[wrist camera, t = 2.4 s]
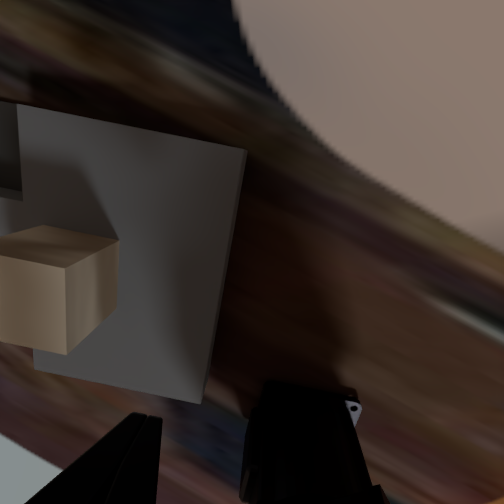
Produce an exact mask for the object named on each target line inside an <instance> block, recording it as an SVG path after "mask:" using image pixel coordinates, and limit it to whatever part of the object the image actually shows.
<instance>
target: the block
mask: <svg viewBox="0 0 504 504" xmlns="http://www.w3.org/2000/svg"><path fill="white" fill-rule="evenodd" d="M119 241H120V240H115V239H110V238H105V237H100V236H96V235H91V234H86V233H81V232H76V231H71V230H66V229H61V228H56V227H52V226H47V225H41V226H37V227H34V228H30V229H26V230H23V231H19V232H16V233H12V234H8V235H5V236H1V237H0V341H1V342H6V343H10V344H15V345H20V346H25V347H30V348H34V349H39V350H44V351H49V352H54V353H58V354H63V355H67V354H69V353H70V352H71V351H72V350H73V349H74V348H75V347H76V346H77V345H78V344H79V343H80V342H81V341H82V340H83V339H84V338H86V337H87V336H88V335H89V334H90V333H91V332H92V331H93V330H94V329H95V328H96V327H97V326H98V325H99V324H100V323H102V322H103V321H104V320H105V319H106V318H107V317H108V316H109V315H110V314H111V313H112V312H113V311H114V310H115V309H116V308H117V287H118V264H119Z"/></svg>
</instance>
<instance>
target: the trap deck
mask: <svg viewBox="0 0 504 504" xmlns="http://www.w3.org/2000/svg"><path fill="white" fill-rule="evenodd" d="M247 153H248V151H247V150H245V149H241V148H236V147H231V146H226V145H221V144H216V143H211V142H206V141H201V140H196V139H191V138H186V137H181V136H176V135H171V134H166V133H161V132H156V131H151V130H146V129H141V128H136V127H131V126H126V125H121V124H116V123H111V122H106V121H101V120H96V119H91V118H86V117H81V116H76V115H71V114H66V113H61V112H56V111H51V110H46V109H41V108H36V107H31V106H26V105H21V104H13V103H8V102H3V101H0V237H1V236H5V235H8V234H12V233H16V232H19V231H23V230H26V229H30V228H34V227H37V226H41V225H47V226H52V227H56V228H61V229H66V230H71V231H76V232H81V233H86V234H91V235H96V236H100V237H105V238H110V239H115V240H120V241H119V264H118V287H117V308H116V309H115V310H114V311H113V312H112V313H111V314H110V315H109V316H108V317H107V318H106V319H105V320H104V321H103V322H102V323H100V324H99V325H98V326H97V327H96V328H95V329H94V330H93V331H92V332H91V333H90V334H89V335H88V336H87V337H86V338H84V339H83V340H82V341H81V342H80V343H79V344H78V345H77V346H76V347H75V348H74V349H73V350H72V351H71V352H70V353H69V354H67V355H63V354H58V353H54V352H49V351H44V350H39V349H34V348H33V357H34V369H35V370H40V371H44V372H49V373H54V374H59V375H64V376H68V377H73V378H78V379H83V380H87V381H92V382H97V383H102V384H106V385H111V386H116V387H121V388H126V389H130V390H135V391H140V392H145V393H149V394H154V395H159V396H164V397H168V398H173V399H178V400H183V401H188V402H192V403H197V404H201V401H202V397H203V394H204V391H205V387H206V384H207V381H208V375H209V370H210V364H211V358H212V353H213V347H214V341H215V335H216V330H217V324H218V318H219V313H220V307H221V301H222V295H223V290H224V284H225V278H226V273H227V267H228V261H229V255H230V250H231V244H232V238H233V233H234V227H235V221H236V215H237V210H238V204H239V198H240V193H241V187H242V181H243V175H244V170H245V164H246V158H247Z"/></svg>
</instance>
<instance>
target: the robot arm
mask: <svg viewBox="0 0 504 504" xmlns="http://www.w3.org/2000/svg"><path fill="white" fill-rule="evenodd" d="M269 388H273V390H270V389H269ZM351 406H353V407H351ZM361 410H362V407H361V404H360V401H359V400H358V399H356V398H353V397H348V396H344V395H339V394H334V393H329V392H324V391H320V390H315V389H310V388H305V387H300V386H296V385H291V384H286V383H281V382H276V381H267V382H265V384H264V386H263V390H262V394H261V397H260V401H259V405H258V407H254V408H253V409H252V410H251V414H250V418H249V422H248V426H247V430H246V434H245V442H244V452H243V462H242V471H241V481H240V491H239V498H240V500H241V502H243V503H248V504H390V502H389V500H388V499H387V497H386V495H385V493H384V491H383V489H382V487H381V486H380V484H378V485H375V486H372V482H371V479H370V476H369V473H368V469H367V466H366V463H365V460H364V456H363V453H362V450H361V446H360V443H359V440H358V437H357V433H356V430H355V425H356V422H357V420H358V417H359V415H360V413H361ZM162 422H163V419H162V418H161V417H157V416H152V415H149V416H148V417H147V415H146V414H142V413H138V412H132V413H130V414H129V415H128V416H127V417H126V418H124V419H123V420H122V421H121V422H120V423H119V424H117V425H116V426H115V427H114V428H113V429H112V430H110V431H109V432H108V433H107V434H106V435H104V436H103V437H102V438H101V439H100V440H99V441H97V442H96V443H95V444H94V445H93V446H92V447H90V448H89V449H88V450H87V451H86V452H84V453H83V454H82V455H81V456H80V457H79V458H77V459H76V460H75V461H74V462H73V463H72V464H70V465H69V466H68V467H67V468H66V469H64V470H63V471H62V472H61V473H60V474H59V475H57V476H56V477H55V478H54V479H53V480H52V481H50V482H49V483H48V484H47V485H46V486H44V487H43V488H42V489H41V490H40V491H39V492H37V493H36V494H35V495H34V496H33V497H32V498H30V499H29V500H28V501H27V502H26V503H24V504H156V495H157V483H158V471H159V459H160V447H161V435H162Z"/></svg>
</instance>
